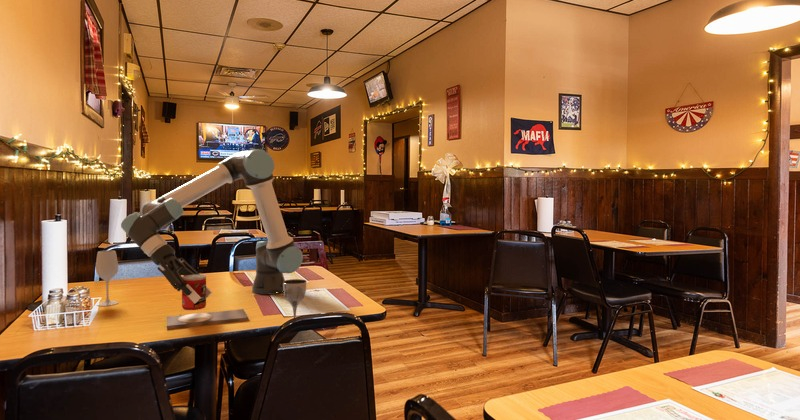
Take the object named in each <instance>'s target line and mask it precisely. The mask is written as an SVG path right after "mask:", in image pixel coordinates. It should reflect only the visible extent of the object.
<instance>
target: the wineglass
mask: <svg viewBox="0 0 800 420" xmlns="http://www.w3.org/2000/svg"><path fill="white" fill-rule="evenodd" d="M117 256H118V255H117V252H116V250H111V249H110V250H109V249H108V250H99V251H97V254H96V260H95V261H96V262H95V273H96V274H97V276H98V277H99V279H100V278H101V279H102V280H103V281H105V288H106V294H105V295H106V299H105V300H104V301H102V302H99V306H98V307H110V306H115V304H116V305H117V304H119V301H116V300H110V298H109V297H110V296H109V295H110V294H109V292H110V291H109V283H110V280H112V279H113V278H114V277H115V276H116V275H117V274H118V271H119V262H118V257H117Z"/></svg>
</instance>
